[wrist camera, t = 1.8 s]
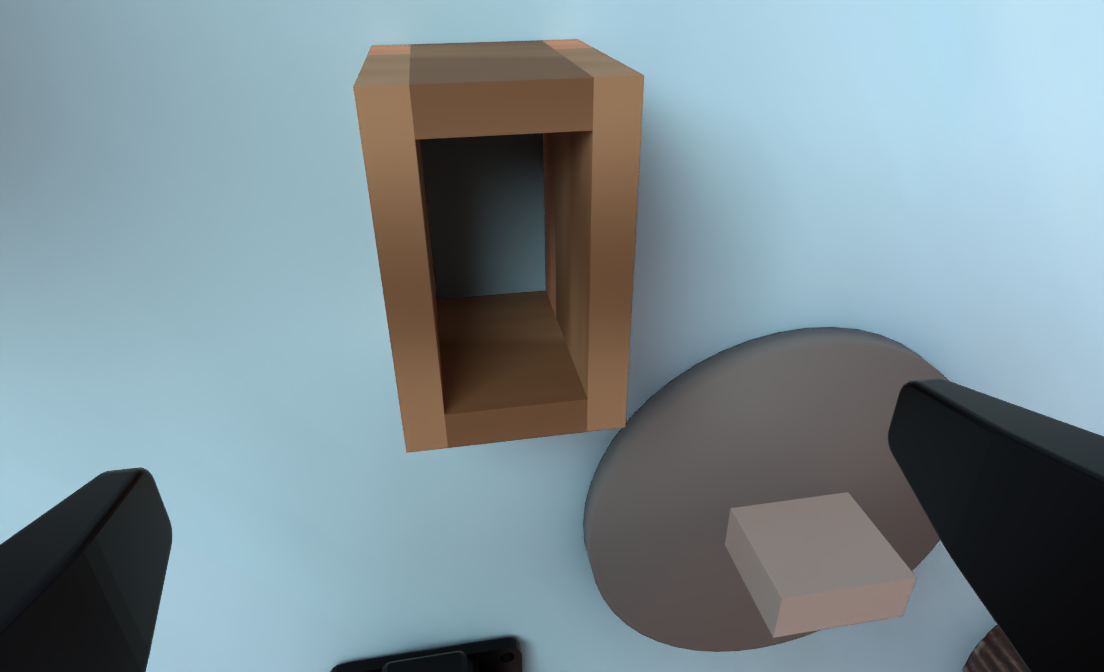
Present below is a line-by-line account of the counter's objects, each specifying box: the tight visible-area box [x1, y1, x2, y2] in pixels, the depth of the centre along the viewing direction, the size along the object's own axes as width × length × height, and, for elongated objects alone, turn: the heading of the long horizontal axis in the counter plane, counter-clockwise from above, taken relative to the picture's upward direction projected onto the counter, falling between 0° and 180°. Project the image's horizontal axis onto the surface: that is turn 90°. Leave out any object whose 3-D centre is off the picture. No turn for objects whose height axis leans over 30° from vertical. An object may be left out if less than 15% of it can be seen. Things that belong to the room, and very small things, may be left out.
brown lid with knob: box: [583, 327, 949, 652], centre depth 21 cm, size 13×13×4 cm
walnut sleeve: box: [353, 39, 644, 453], centre depth 14 cm, size 7×4×5 cm, turn 1°
